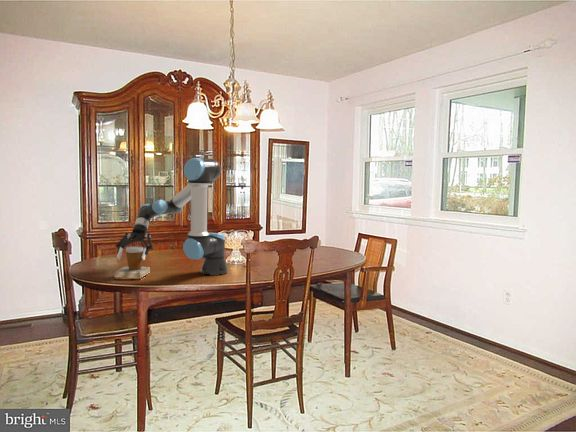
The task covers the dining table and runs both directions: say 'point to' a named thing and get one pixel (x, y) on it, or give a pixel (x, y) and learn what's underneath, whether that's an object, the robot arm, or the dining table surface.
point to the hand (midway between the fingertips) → (130, 258)
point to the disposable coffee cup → (134, 257)
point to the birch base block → (131, 272)
